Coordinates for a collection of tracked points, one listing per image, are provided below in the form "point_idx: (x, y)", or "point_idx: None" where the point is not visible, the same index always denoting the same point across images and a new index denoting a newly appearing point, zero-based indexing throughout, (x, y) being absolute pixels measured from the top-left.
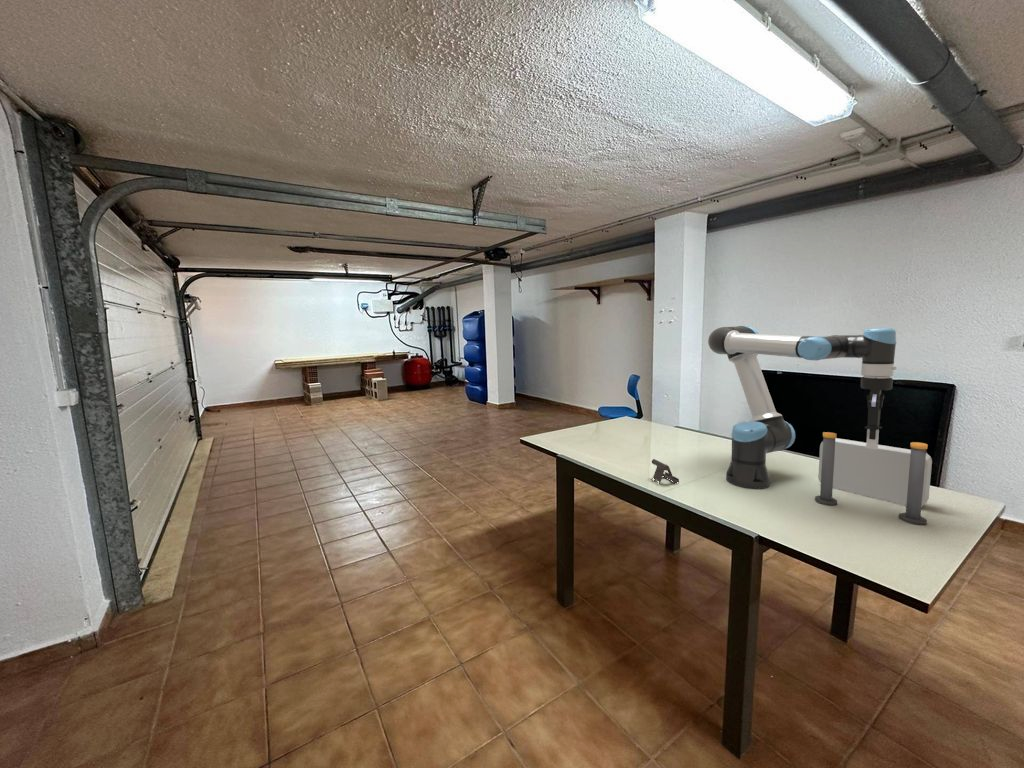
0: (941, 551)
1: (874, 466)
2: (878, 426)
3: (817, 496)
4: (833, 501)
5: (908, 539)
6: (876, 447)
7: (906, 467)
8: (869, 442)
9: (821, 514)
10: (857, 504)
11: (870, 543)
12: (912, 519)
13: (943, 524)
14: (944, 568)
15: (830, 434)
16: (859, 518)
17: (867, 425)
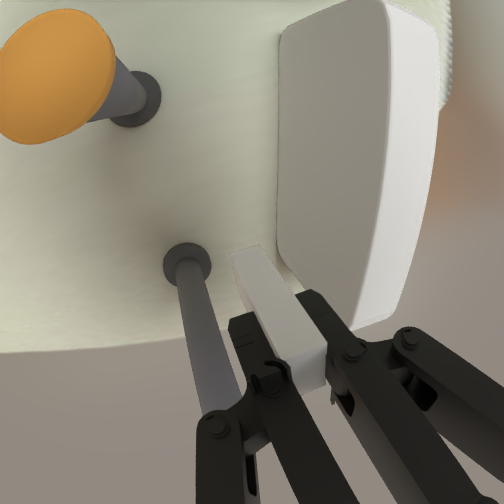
0: (86, 332)
1: (328, 183)
2: (336, 399)
3: (134, 74)
4: (130, 119)
5: (79, 296)
6: (243, 301)
7: (328, 273)
8: (243, 291)
9: (36, 147)
10: (188, 154)
11: (7, 272)
12: (172, 273)
13: (216, 296)
14: (41, 346)
15: (2, 112)
16: (90, 203)
17: (214, 437)
